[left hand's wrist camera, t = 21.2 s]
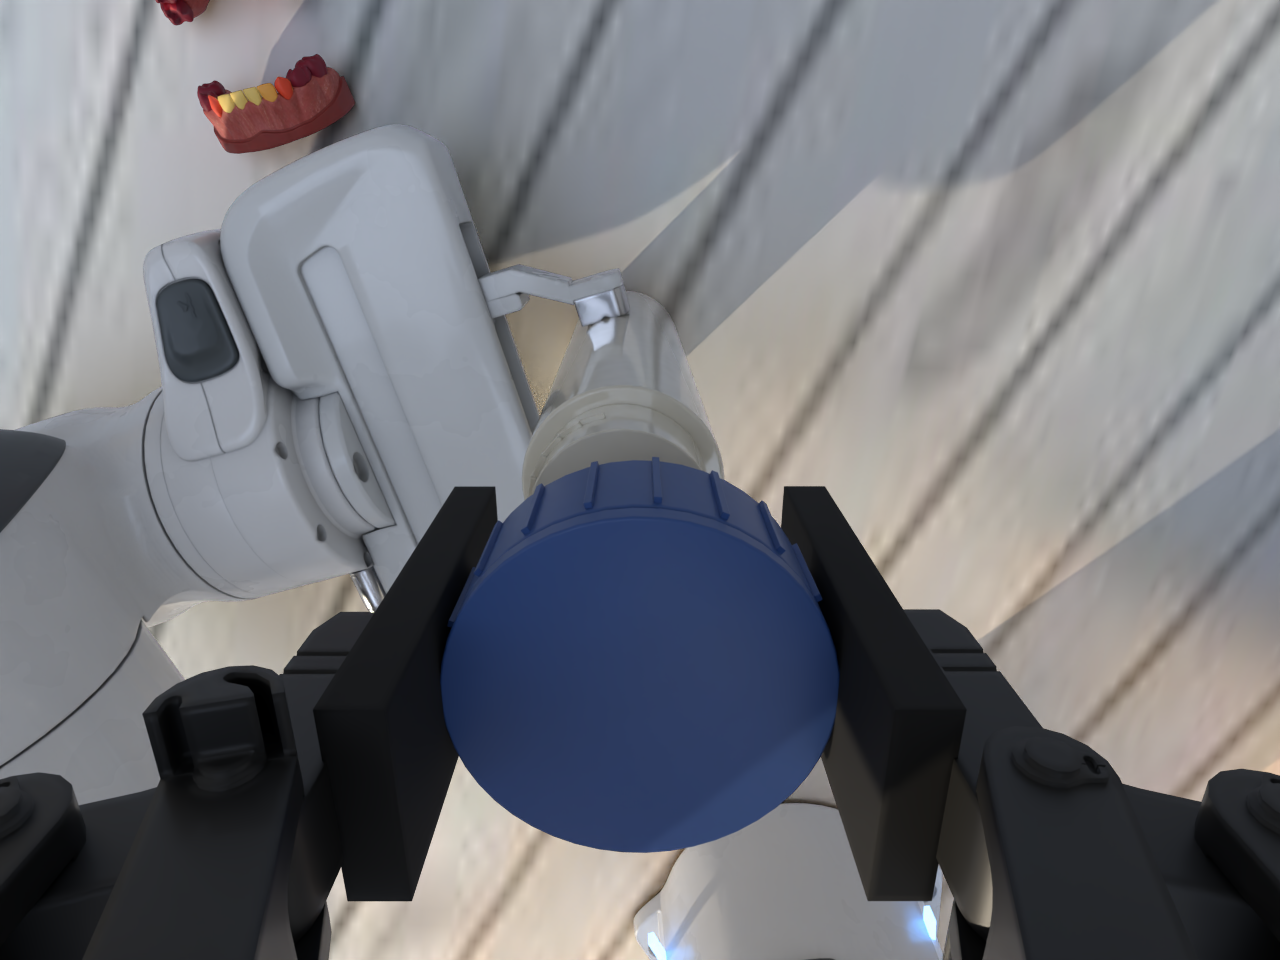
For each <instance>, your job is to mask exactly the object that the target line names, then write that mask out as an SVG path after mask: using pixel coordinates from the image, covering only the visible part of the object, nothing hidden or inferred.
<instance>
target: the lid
mask: <svg viewBox="0 0 1280 960" xmlns="http://www.w3.org/2000/svg"><path fill="white" fill-rule="evenodd" d="M821 600H822V597H821V595H820V593H819V590H818V588H817V586H816V584H815V582H814V579H813V577H812V575H811V573H810V571H809V568H808V566H807V564H806V562H805V560H804V557H803V555H802V553H801V551H800V549H799V547H798V545H797V543H796V544H794V545H791V543H790V541H789V539H788V537H787V536H786V534H785V533H784V532H783V530H782V529H781V527H780V526H779V525H778V523H777V522H776V521H775V520H774V518H773V517H772V516H771V514H770V511H769V509H768V507H767V504H766V503H765V502H763V501H761V502H760V503H757V502H756V501H755V500H754V499H752V498H751V497H750V496H749V495H747V494H746V493H745V492H744V491H742V490H740V489H739V488H737V487H735V486H733V485H732V484H730V483H728V482H727V481H725V480H723V479H721V478H719V474H718V472H715V471H713V470H712V471H711V473H710V474H709V473H707V472H705V471H702V470H698V469H695V468H691V467H688V466H684V465H681V464H674V463H668V462H661V461H660V460H659V457H652V461H644V460H631V461H620V462H610V463H605V464H601V465H599V464H598V461H595V462H591V465H590V467H587V468H585V469H582V470H579V471H576V472H573V473H571V474H568V475H565V476H563V477H561V478H559V479H557V480H555V481H553V482H552V483H550V484H548V485H546V486H544V485H543V484H542V483H541V484H539V485H538V486H536V489H535V491H534V494H533V495H531V496H530V497H528V498H527V499H526V500H525V501H524V502H522V503H521V504H520V505H519V506H518V507H517V508H516V509H515V510H514V511H513V512H512V513H511V514H510V515H509V516H508V517H507V518H506V520H505V521H504V522H503V523H502V522H501V521H499V520H498V521H497V523H496V524H495V526H494V528H493V530H492V532H491V535H490V537H489V539H488V542H487V544H486V546H485V548H484V551H483V553H482V555H481V557H480V560H479V562H478V564H477V566H476V568H475V567H473V568H472V570H471V572H470V574H469V577H468V579H467V581H466V583H465V586H464V588H463V590H462V592H461V594H460V597H459V599H458V601H457V603H456V606H455V608H454V610H453V612H452V614H451V617H450V619H449V621H448V625H447V626H448V627H451V630H450V633H449V635H448V638H447V641H446V645H445V649H444V653H443V657H442V662H441V674H440V684H441V694H442V703H443V712H444V719H445V723H446V727H447V730H448V732H449V735H450V738H451V740H452V743H453V745H454V748H455V749H456V751H457V753H458V755H459V756H460V758H461V760H462V762H463V764H464V765H465V767H466V768H467V770H468V771H469V772H470V773H471V775H472V776H473V777H474V779H475V780H476V781H477V783H478V784H479V785H480V786H481V787H482V788H483V789H484V790H485V791H486V792H487V793H488V794H489V795H490V796H491V797H492V798H493V799H494V800H495V801H496V802H498V803H499V804H500V805H501V806H503V807H504V808H505V809H506V810H508V811H509V812H510V813H512V814H513V815H515V816H516V817H518V818H519V819H521V820H523V821H524V822H526V823H528V824H529V825H531V826H533V827H535V828H537V829H539V830H541V831H543V832H545V833H548V834H550V835H552V836H554V837H557V838H560V839H563V840H566V841H569V842H572V843H575V844H579V845H583V846H587V847H592V848H596V849H602V850H610V851H618V852H640V853H648V852H661V851H672V850H677V849H683V848H689V847H694V846H697V845H701V844H704V843H708V842H711V841H715V840H717V839H720V838H722V837H725V836H727V835H730V834H732V833H735V832H737V831H739V830H741V829H743V828H745V827H747V826H748V825H750V824H752V823H754V822H756V821H758V820H759V819H761V818H762V817H763V816H765V815H766V814H768V813H769V812H771V811H772V810H774V809H775V808H776V807H778V806H779V805H780V804H781V803H782V802H783V801H784V800H785V799H787V798H788V797H789V796H790V795H791V794H792V793H793V792H794V791H795V790H796V789H797V788H798V787H799V785H800V784H801V783H802V782H803V781H804V780H805V779H806V777H807V776H808V775H809V774H810V772H811V771H812V769H813V768H814V766H815V765H816V763H817V761H818V760H819V758H820V757H821V755H822V753H823V751H824V748H825V746H826V744H827V742H828V740H829V738H830V735H831V732H832V729H833V725H834V722H835V717H836V708H837V699H838V689H839V675H840V671H839V665H838V659H837V653H836V648H835V645H834V642H833V639H832V636H831V633H830V630H829V627H828V625H827V623H826V620H825V618H824V616H823V614H822V611H821V609H820V607H819V605H818V602H819V601H821Z"/></svg>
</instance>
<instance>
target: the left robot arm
mask: <svg viewBox="0 0 1280 960" xmlns="http://www.w3.org/2000/svg"><path fill="white" fill-rule="evenodd" d="M497 521H498V516H497V502H496V488H495V486H455V487H454V489H453V490H452V492H451V493H450V495H449V496H448V498H447V500H446V501H445V503H444V504H443V506H442V507H441V509H440V510H439V512H438V514H437V515H436V517H435V518H434V520H433V521H432V523H431V525H430V526H429V528H428V529H427V531H426V532H425V534H424V536H423V537H422V539H421V540H420V542H419V543H418V545H417V547H416V548H415V550H414V551H413V553H412V554H411V556H410V558H409V559H408V561H407V562H406V564H405V565H404V567H403V569H402V570H401V572H400V573H399V575H398V576H397V578H396V580H395V581H394V583H393V584H392V586H391V587H390V589H389V591H388V592H387V594H386V595H385V597H384V598H383V600H382V602H381V603H380V605H379V606H378V608H377V609H376V611H375V612H340V613H338V614H337V615H335V616H334V617H332V618H331V619H329V620H328V621H326V622H325V623H323V624H322V625H320V626H319V627H317V628H316V629H314V630H313V631H312V632H311V634H310V635H309V636H308V638H307V639H306V640H305V642H304V643H303V644H302V646H301V647H300V648H299V650H298V651H297V656H293V658H292V659H291V660H290V662H289V663H288V664H287V666H286V667H285V668H284V673H283V674H280V675H278V674H276V673H275V672H274V671H273V670H271V669H266V668H262V667H257V666H231V667H225V668H221V669H216V670H212V671H208V672H204V673H201V674H198V675H196V676H194V677H191V678H189V679H186V680H184V681H182V682H179V683H177V684H175V685H174V686H172V687H171V688H169V689H168V690H166V691H165V692H163V693H162V694H160V695H159V696H158V697H156V698H155V699H154V700H153V701H152V703H151V704H150V705H149V706H148V707H147V709H146V710H145V711H144V712H143V713H142V715H143V718H144V722H145V726H146V729H147V733H148V736H149V740H150V743H151V747H152V751H153V754H154V758H155V761H156V765H157V769H158V772H159V776H160V781H159V784H158V786H157V787H155V788H152V789H148V790H145V791H141V792H137V793H133V794H128V795H124V796H119V797H114V798H110V799H105V800H101V801H96V802H92V803H87V804H82V805H78V802H77V799H76V796H75V793H74V790H73V786H72V784H71V783H69V782H68V781H67V780H66V779H64V778H63V777H62V776H61V775H56V774H48V773H41V772H37V773H30V774H23V775H16V776H10V777H7V778H4V779H0V960H328V959H329V950H330V941H331V925H330V918H329V912H328V907H327V902H326V900H327V897H328V895H329V893H330V891H331V888H332V886H333V884H334V882H335V879H336V877H337V875H338V873H339V870H340V868H341V867H342V873H343V878H344V884H345V889H346V895H347V900H348V901H412V899H413V896H414V893H415V890H416V887H417V884H418V880H419V877H420V874H421V871H422V868H423V865H424V862H425V859H426V856H427V853H428V849H429V846H430V843H431V840H432V837H433V834H434V831H435V828H436V825H437V822H438V819H439V815H440V812H441V809H442V806H443V803H444V800H445V797H446V794H447V791H448V788H449V784H450V781H451V778H452V775H453V772H454V769H455V766H456V763H457V760H458V757H459V755H458V753H457V751H456V749H455V748H454V745H453V743H452V740H451V738H450V735H449V732H448V730H447V727H446V723H445V719H444V712H443V703H442V694H441V684H440V674H441V662H442V657H443V653H444V649H445V645H446V641H447V638H448V635H449V633H450V630H451V627H448V626H447V625H448V621H449V619H450V617H451V614H452V612H453V610H454V608H455V606H456V603H457V601H458V599H459V597H460V594H461V592H462V590H463V588H464V586H465V583H466V581H467V579H468V577H469V574H470V572H471V570H472V568H473V567H475V568H476V566H477V564H478V562H479V560H480V557H481V555H482V553H483V551H484V548H485V546H486V544H487V542H488V539H489V537H490V535H491V532H492V530H493V528H494V526H495V524H496V523H497ZM781 529H782V530H783V532H784V533H785V534H786V536H787V537H788V539H789V541H790V543H791V545H794V544H796V543H797V545H798V547H799V549H800V551H801V553H802V555H803V557H804V560H805V562H806V564H807V566H808V568H809V571H810V573H811V575H812V577H813V579H814V582H815V584H816V586H817V588H818V590H819V593H820V595H821V597H822V600H821V601H819V602H818V605H819V607H820V609H821V611H822V614H823V616H824V618H825V620H826V623H827V625H828V627H829V630H830V633H831V636H832V639H833V642H834V645H835V648H836V653H837V659H838V665H839V671H840V675H839V689H838V699H837V708H836V717H835V722H834V725H833V729H832V732H831V735H830V738H829V740H828V742H827V744H826V746H825V748H824V751H823V753H822V755H821V758H822V761H823V764H824V767H825V770H826V774H827V777H828V780H829V783H830V786H831V789H832V792H833V795H834V798H835V801H836V804H837V808H838V811H839V814H840V817H841V820H842V823H843V826H844V829H845V832H846V835H847V839H848V842H849V845H850V848H851V851H852V854H853V857H854V860H855V863H856V866H857V870H858V873H859V876H860V879H861V882H862V885H863V888H864V891H865V894H866V897H867V900H868V901H932V898H933V892H934V887H935V881H936V876H937V870H938V865H940V868H941V870H942V872H943V874H944V877H945V879H946V881H947V883H948V885H949V888H950V890H951V892H952V894H953V897H954V902H953V907H952V912H951V917H950V922H949V927H948V932H947V937H946V943H945V948H944V953H943V958H942V960H1280V776H1279V775H1275V774H1272V773H1268V772H1261V771H1254V770H1246V769H1236V770H1229V771H1221V772H1219V773H1218V774H1217V775H1216V776H1214V777H1213V778H1212V779H1211V780H1209V781H1208V785H1207V788H1206V791H1205V794H1204V797H1203V800H1202V802H1199V801H1194V800H1190V799H1185V798H1181V797H1176V796H1172V795H1167V794H1162V793H1158V792H1153V791H1149V790H1144V789H1140V788H1136V787H1133V786H1129V785H1126V784H1122V782H1121V780H1120V778H1119V776H1118V775H1117V774H1116V772H1115V771H1114V770H1113V768H1112V767H1111V765H1110V764H1109V763H1108V761H1107V760H1105V759H1104V758H1103V757H1101V756H1100V755H1099V754H1098V753H1096V752H1095V751H1094V750H1092V749H1091V748H1090V747H1089V746H1087V745H1085V744H1083V743H1081V742H1079V741H1077V740H1075V739H1073V738H1071V737H1068V736H1066V735H1064V734H1062V733H1058V732H1054V731H1050V730H1047V729H1043V728H1042V726H1041V725H1040V724H1039V722H1038V721H1037V720H1036V719H1035V717H1034V716H1033V715H1032V713H1031V712H1030V711H1029V709H1028V708H1027V707H1026V705H1025V704H1024V703H1023V701H1022V700H1021V699H1020V697H1019V696H1018V695H1017V693H1016V692H1015V691H1014V689H1013V688H1012V687H1011V686H1010V684H1009V683H1008V682H1007V680H1006V679H1005V678H1004V676H1003V675H1002V674H1001V672H1000V671H997V670H996V666H995V664H994V663H993V662H992V660H991V659H990V658H989V656H988V655H987V654H986V653H983V649H982V647H981V646H980V645H979V643H978V642H977V641H976V639H975V638H974V637H973V635H972V634H971V633H970V631H969V630H968V629H967V628H966V627H965V626H963V625H962V624H960V623H959V622H957V621H956V620H954V619H953V618H951V617H950V616H948V615H947V614H945V613H944V612H942V611H941V610H903V609H902V607H901V605H900V604H899V602H898V601H897V599H896V598H895V596H894V594H893V593H892V591H891V590H890V588H889V587H888V585H887V583H886V582H885V580H884V579H883V577H882V576H881V574H880V573H879V571H878V569H877V568H876V566H875V565H874V563H873V562H872V560H871V558H870V557H869V555H868V554H867V552H866V551H865V549H864V547H863V546H862V544H861V543H860V541H859V540H858V538H857V536H856V535H855V533H854V532H853V530H852V529H851V527H850V525H849V524H848V522H847V521H846V519H845V518H844V516H843V514H842V513H841V511H840V510H839V508H838V507H837V505H836V503H835V502H834V500H833V499H832V497H831V496H830V494H829V492H828V491H827V489H826V488H825V486H784V496H783V510H782V524H781Z"/></svg>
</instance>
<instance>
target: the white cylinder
mask: <svg viewBox="0 0 1280 960" xmlns="http://www.w3.org/2000/svg"><path fill="white" fill-rule="evenodd" d="M626 294H627V297H628V301H629V305H630V312H628V313H627V314H624V315H621V316H618V317H612V318H610V317H607V316H604V317H603V319H602V320H601V321H599V322H597V323H594V324H591V325H587V326H583V327H582V325H581V322H580V319H579V320H578V322H577V325H576V327H575V330H574V332H573V335H572V337H571V340H570V342H569V345H568V347H567V350H566V352H565V355H564V357H563V360H562V362H561V365H560V367H559V370H558V373H557V375H556V378H555V380H554V383H553V385H552V388H551V390H550V393H549V395H548V398H547V400H546V403H545V405H544V408H543V410H542V413H541V415H540V418H539V420H538V423H537V425H536V428H535V430H534V433H533V435H532V438H531V440H530V443H529V445H528V448H527V451H526V453H525V458H524V462H523V469H522V490H523V495H524V500H526V499H527V498H528V497H530V496H531V495H533V494H534V491H535V489H536V486H538V485H539V484H541V483H542V484H543V485H544V486H546V485H548V484H550V483H552V482H553V481H555V480H557V479H559V478H561V477H563V476H565V475H568V474H571V473H573V472H576V471H579V470H582V469H585V468H587V467H590V465H591V462H595V461H598V464H599V465H601V464H605V463H610V462H620V461H631V460H644V461H652V457H659V460H660V461H661V462H668V463H674V464H681V465H684V466H688V467H691V468H695V469H698V470H702V471H705V472H707V473H709V474H710V473H711V471H712V470H713V471H715V472H718V474H719V478H721V479H723V480H724V470H723V463H722V458H721V454H720V451H719V448H718V445H717V442H716V440H715V437H714V434H713V431H712V428H711V426H710V423H709V420H708V417H707V414H706V411H705V409H704V406H703V403H702V400H701V397H700V394H699V392H698V389H697V386H696V383H695V380H694V378H693V375H692V372H691V369H690V366H689V363H688V361H687V358H686V355H685V352H684V349H683V346H682V344H681V341H680V338H679V335H678V332H677V330H676V327H675V324H674V322H673V320H672V318H671V316H670V314H669V313H668V312H667V310H666V309H665V308H664V307H663V306H662V305H661V304H660V303H659V302H657V301H656V300H655V299H653V298H651V297H650V296H647V295H645V294H643V293H639V292H635V291H626Z"/></svg>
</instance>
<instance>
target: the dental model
mask: <svg viewBox="0 0 1280 960" xmlns="http://www.w3.org/2000/svg"><path fill="white" fill-rule="evenodd" d="M209 1H210V0H156V2H157V3H160V5H161V9H162V11H163V12H164V14H165V16H166V17H167V18H169V20H170V21H171V22H172V23H173V24H174V25H180V24H182V23H183V22H184V21H188V22H192V21H193V18H195V17H197V16H198V15H200V14H202V13H203V12H204V11H205V10H206V8H207V5H208V3H209ZM257 89H258V90H257ZM276 90H277V92H278V93H277V92H276ZM243 92H244V93H243ZM243 92H242V90H240V91H236V92H233V93H232V92H230V91H229V90H225V89H224V87H223V85H222V84H221V83H219V82H218V81H213V82H212V83H209V84H203V85H202V86H198V92H197V94H198V98H199V100H200V104H201V106H202V108H203V111H204V114H205V115H206V117H207V118H208V119H209V120H210V121H211V123H212V124H213V125H214V132H215V134H216V136H217V138H218V139H219V141H220V143H221V145H222V147H223V148H224V149H225V150H226V151H227V152H229V153H238V154H239V153H246V152H255V151H261V150H266V149H271V148H274V147H277V146H281V145H284V144H287V143H290V142H292V141H295V140H298V139H300V138H303V137H306V136H309V135H311V134H313V133H316V132H318V131H320V130H322V129H324V128H326V127H327V126H329V125H331V124H333V123H334V122H336V121H337V120H339V119H340V118H342V117H343V116H344V115H346V114H347V113H348V112H349V111H350V110H351V109H352V107H353V106H354V104H355V101H354V99H353V96H352V94H351V92H350V90H349V87H348V85H347V83H346V80H345V78H344V76H342V77H340V76H339V74H338V73H337V72H336V71H335V70H334V69H332V68H329V67H326V64H325V62H324V60H323V59H322V57H321V56H319V55H318V54H316V55H314V56H311V57H303V58H302V60H299V61H298V62H297V63H296V65H295V69H294V70H291V69H289V71H288V73H287V76H286V78H283V77H277V79H276V80H275V87H274V86H273V85H272V84H271V83H267V84H262V85H260V86H257V88H256V87H252V88H247V89H244V90H243ZM244 94H245V95H244ZM260 94H261V95H260ZM245 96H246V97H247V98H246V97H245ZM261 96H262V97H261ZM247 99H248V100H249V101H248V100H247Z"/></svg>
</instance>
